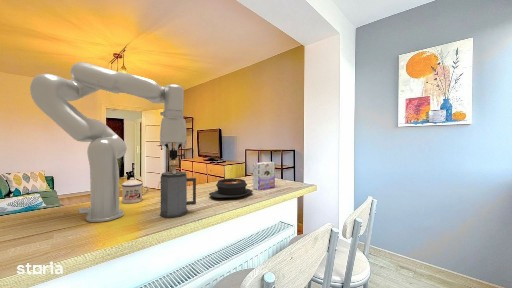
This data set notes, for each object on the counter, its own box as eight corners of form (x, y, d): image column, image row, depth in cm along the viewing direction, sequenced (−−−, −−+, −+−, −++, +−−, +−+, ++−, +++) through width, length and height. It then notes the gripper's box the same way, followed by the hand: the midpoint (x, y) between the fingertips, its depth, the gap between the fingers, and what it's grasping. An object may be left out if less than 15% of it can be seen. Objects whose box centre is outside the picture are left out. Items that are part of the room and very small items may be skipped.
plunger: (163, 212, 91) (163, 162, 90) (165, 207, 98) (165, 160, 97) (183, 211, 93) (183, 161, 92) (184, 205, 100) (184, 160, 99)
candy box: (269, 186, 151) (269, 161, 151) (275, 187, 147) (275, 162, 146) (252, 188, 143) (252, 162, 142) (258, 190, 138) (258, 163, 137)
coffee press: (158, 218, 89) (158, 175, 88) (162, 210, 99) (162, 171, 99) (195, 216, 93) (196, 174, 92) (195, 207, 103) (195, 170, 102)
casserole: (241, 189, 140) (241, 176, 140) (259, 196, 125) (260, 180, 125) (203, 195, 125) (203, 180, 125) (219, 203, 110) (219, 186, 110)
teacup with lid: (122, 205, 106) (121, 180, 106) (121, 200, 114) (121, 177, 114) (150, 201, 113) (150, 178, 112) (147, 197, 120) (147, 175, 120)
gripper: (152, 113, 89) (152, 160, 89) (192, 115, 93) (192, 160, 93) (155, 115, 96) (155, 158, 96) (192, 117, 100) (192, 158, 100)
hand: (173, 159), depth 95 cm, fingers closed
